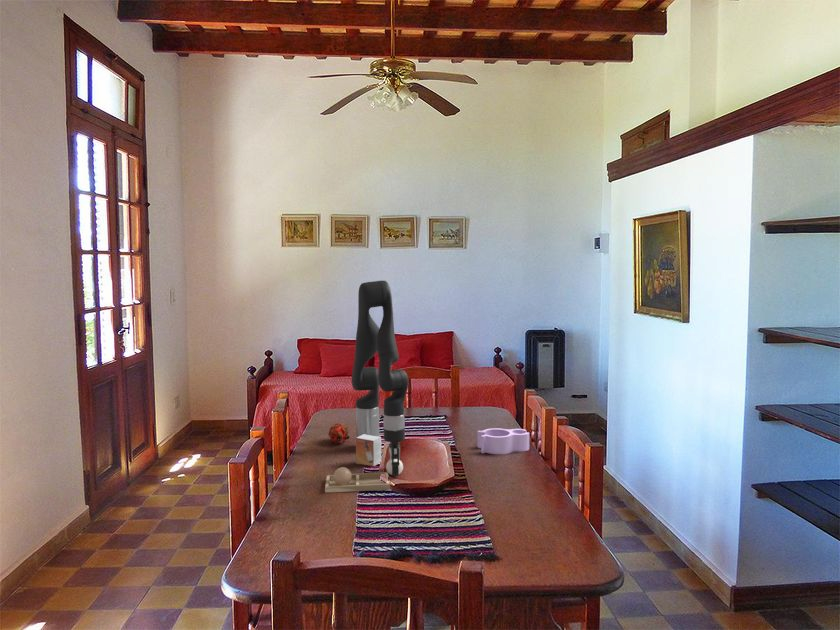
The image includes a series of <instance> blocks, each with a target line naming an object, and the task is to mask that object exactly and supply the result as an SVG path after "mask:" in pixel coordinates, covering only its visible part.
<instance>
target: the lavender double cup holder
mask: <svg viewBox="0 0 840 630" xmlns="http://www.w3.org/2000/svg"><path fill="white" fill-rule="evenodd" d="M477 448H478V449H481V450H480V451H481V452H480V453H481V454H485V453H487V454H491V455H508V454H510V453H513V452H520V453H521V452H527V451H529V450H530V432H529V431H528V432H527V429H523V428H511V429H509V428H508V429H505V428H500V427H499V428H498V427H497V428H496V427H495V428H487V429H483V430H477Z"/></svg>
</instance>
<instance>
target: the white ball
mask: <svg viewBox="0 0 840 630" xmlns="http://www.w3.org/2000/svg"><path fill="white" fill-rule="evenodd" d="M393 461H394V462H397V459H394V460H393ZM386 462H387V463H386V464H385V468H386V472H388V475H391V476H393V475H392V465H391V463H392V460H391V459H390V458H389V460H388V461H386ZM399 463H400V464H399V475H400V474H402V472H403V470H404V463H403V462H402V460H400V459H399Z"/></svg>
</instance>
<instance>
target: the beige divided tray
mask: <svg viewBox="0 0 840 630" xmlns="http://www.w3.org/2000/svg"><path fill="white" fill-rule="evenodd" d="M381 474H385V476H386V478H387V477H389V475H390V474H389V473H388V472H387V471H385V472H383V471H382V472H381V471H380V472H363V473H362V472H361V473H351V475H352V477H351V481H350V482H349V483H348V484H347V485H342V486H340V485H338V484H336V483H335V481H334V474H327V475H326V479H325V487H324V492H325V494H327V493H344V492H345V493H346V492H348V493H349V492H367V491H386V490H387V491H388V490H391V485H390V480H389V481H387V480H386V483H384V482H383V481H381V480H380V475H381ZM389 478H390V477H389Z"/></svg>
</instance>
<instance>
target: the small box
mask: <svg viewBox="0 0 840 630" xmlns="http://www.w3.org/2000/svg"><path fill="white" fill-rule="evenodd" d="M380 462H381V463H382V437H381V436H379V437H378V436H371V435H366V434H363V435H361V436H359V437H357V436H356V437H355V464H356V465H363V466H364V465H365V466H370V467H376V466H377V465H379V464H381V463H380Z"/></svg>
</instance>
